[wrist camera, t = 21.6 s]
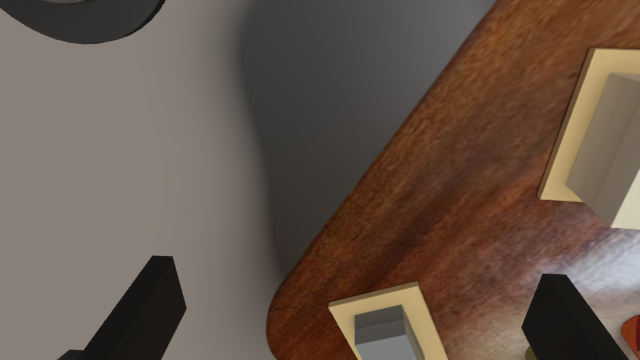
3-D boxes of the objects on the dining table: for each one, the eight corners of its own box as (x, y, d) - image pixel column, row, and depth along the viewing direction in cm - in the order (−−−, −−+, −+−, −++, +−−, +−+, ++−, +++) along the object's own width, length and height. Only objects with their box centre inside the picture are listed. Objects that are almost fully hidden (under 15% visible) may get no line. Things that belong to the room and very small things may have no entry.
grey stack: (328, 302, 51) (325, 337, 46) (416, 280, 48) (424, 316, 43) (366, 369, 58) (367, 407, 53) (447, 355, 54) (456, 394, 49)
